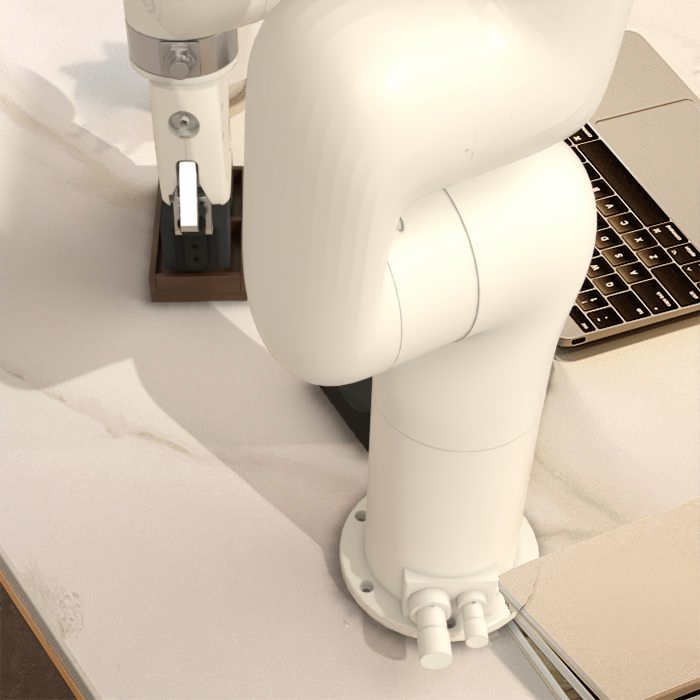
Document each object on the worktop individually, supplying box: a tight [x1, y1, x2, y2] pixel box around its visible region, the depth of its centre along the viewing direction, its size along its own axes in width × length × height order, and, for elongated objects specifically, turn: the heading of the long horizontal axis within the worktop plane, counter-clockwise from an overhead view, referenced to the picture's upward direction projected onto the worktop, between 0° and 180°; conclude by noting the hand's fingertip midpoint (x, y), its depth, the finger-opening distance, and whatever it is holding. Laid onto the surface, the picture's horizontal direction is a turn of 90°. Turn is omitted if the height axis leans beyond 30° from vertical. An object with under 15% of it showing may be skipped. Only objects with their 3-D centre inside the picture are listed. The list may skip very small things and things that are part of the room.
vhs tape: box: [318, 376, 373, 453], centre depth 91 cm, size 8×14×2 cm, turn 119°
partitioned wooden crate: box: [148, 157, 248, 303], centre depth 102 cm, size 14×7×5 cm, turn 3°
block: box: [160, 188, 231, 269], centre depth 98 cm, size 5×5×4 cm
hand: (199, 243), depth 99 cm, fingers closed on block, 4 cm apart
